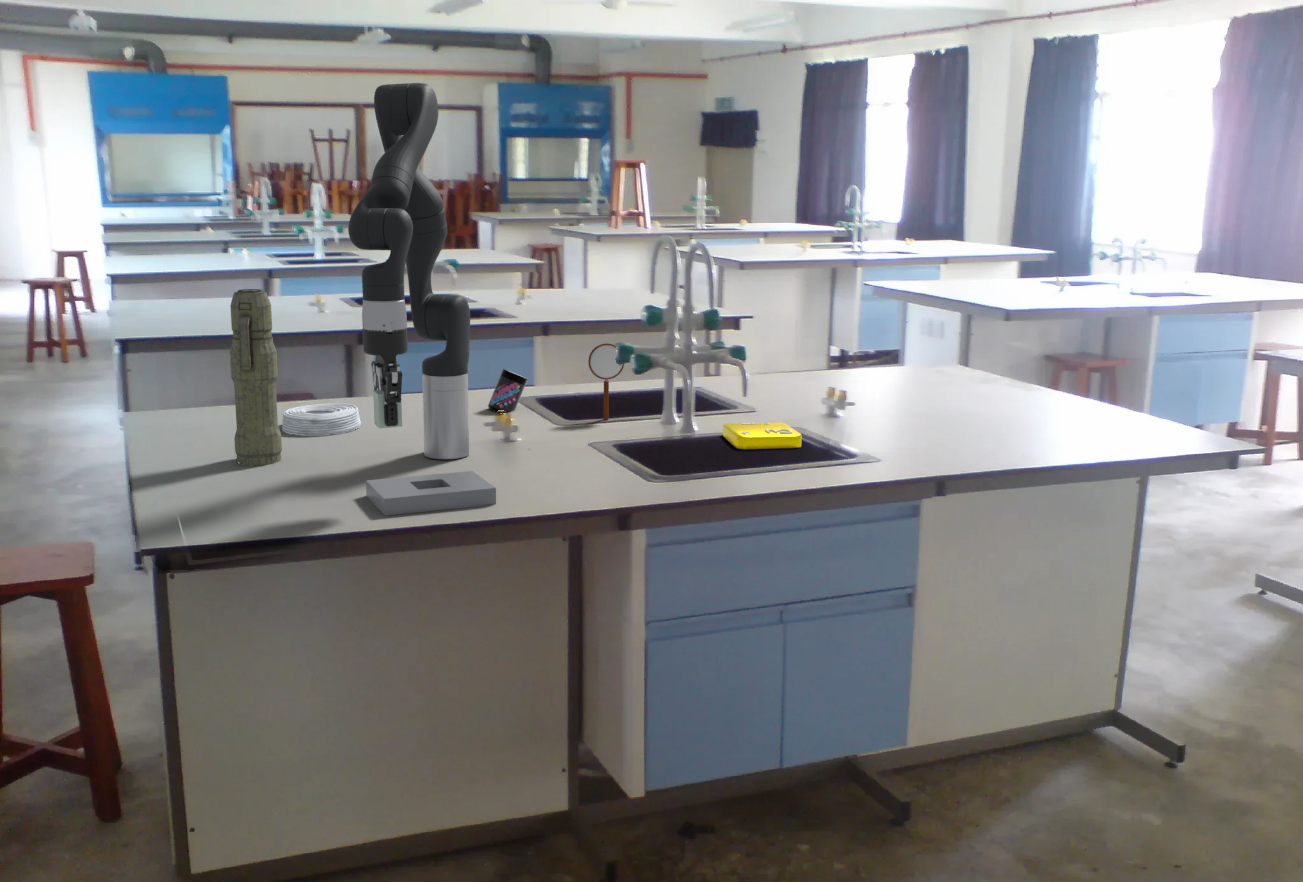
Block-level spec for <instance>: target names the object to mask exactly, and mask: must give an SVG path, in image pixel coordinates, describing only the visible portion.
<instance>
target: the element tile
mask: <svg viewBox="0 0 1303 882" xmlns="http://www.w3.org/2000/svg"><path fill="white" fill-rule="evenodd" d="M722 437H723V438H725V439H726V441H728V442H729V443H730V445H732V446H733V447H734V448H736V449H739V450H758V449H759V450H763V449H764V450H766V449H767V450H768V449H770V450H771V449H795V448H796V449H797V448H802V443H803V442H802V440H803V439H802V437H803V435H802V433H801V432H798V430H796V429H794V428H792V427H791V426H789V425H788V424H786V423H784V422H781V421H780V422H779V421H778V422H777V421H776V422H756V421H755V422H733V423H732V422H729V423H724V424H723V425H722Z"/></svg>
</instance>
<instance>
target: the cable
mask: <svg viewBox="0 0 1303 882" xmlns="http://www.w3.org/2000/svg"><path fill="white" fill-rule="evenodd" d="M281 424H282V426H281V427H282V428H281V429H282V432H284V433H286V434H289V435H292V434H295V435H294V436H299V435H300V436H301V437H321V436H322V437H323V436H326V435H327V436H331V435H330V434H336V435H340V434H339V433H343V434H346V432H347V433H350V432H349V431H351V432H354V431H355V429H356V430H358V429H359V428H360V427H361V426H362V425H361V419H360V411H359V408H358V407H357V406H356V405H354V404H351V403H345V402H342V403H341V402H332V403H319V404H308V405H301V406H296V407H291V408H288V409H287V410H285V411H284V412H282V423H281ZM357 428H358V429H357Z"/></svg>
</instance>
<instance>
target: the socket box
mask: <svg viewBox="0 0 1303 882" xmlns="http://www.w3.org/2000/svg"><path fill="white" fill-rule="evenodd" d="M365 489H366V490H365V491H366V493H365V494H366V497H367V498H368V499H369V501H370V502H371V503H372V504H373V505H374V506H375V507H376V508H377V509H378V510H379V512H381V513H382V515H383V516H394V515H396V516H397V515H406V514H413V513H415V514H416V513H423V512H424V513H425V512H434V511H444V510H454V509H462V508H472V507H479V506H490V505H489V504H492V505H496V504H497V487H495V485H493V484H491V483H490V482H488V481H487V480H486V479H484V478H483V477H481V476H480V475H479V474H477V473H476V472H474V471H473V470H469V471H458V472H455V471H454V472H445V473H444V472H443V473H435V474H425V475H424V474H423V475H413V476H412V475H411V476H402V477H401V476H400V477H391V478H389V477H388V478H381V479H380V478H378V479H370V480H369V479H367V480H365Z"/></svg>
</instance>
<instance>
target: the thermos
mask: <svg viewBox="0 0 1303 882" xmlns="http://www.w3.org/2000/svg"><path fill="white" fill-rule="evenodd" d="M267 293H268V292H267V291H263V289H259V288H248V289H247V288H245V289H237V291H234V292H233V294H232V298H231V302H230V321H231V330H232V336H231V340H232V341H231V342H232V344H231V347H230V350H229V358H230V359H229V360H230V378H231V380H232V382H233V386H234V406H235V421H236V431H235V433H234V453H235V454H236V462H239V463H240V464H239V465H241V464H245V465H244V466H246V465H255V466H254V467H258V466H259V467H260V465H261V466H268V465H274V464H277V463H279V462H281V460H282V450H283V445H282V443H283V442H282V434H281V430H280V427H279V424H278V423H279V422H278V404H277V403H278V402H277V401H278V400H277V384H276V383H277V380H278V378H279V375H278V374H279V372H278V371H279V370H278V353H277V352H278V351H277V349H276V346H275V344H274V337H273V335H272V330H273V318H272V317H273V316H272V304H271V301H270V299H269V296H268V294H267ZM276 462H277V463H276ZM257 465H258V466H257Z"/></svg>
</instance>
